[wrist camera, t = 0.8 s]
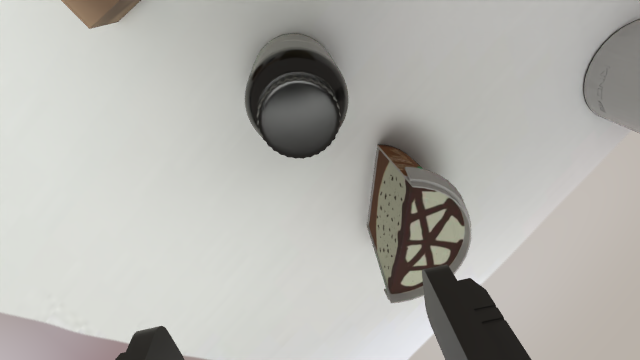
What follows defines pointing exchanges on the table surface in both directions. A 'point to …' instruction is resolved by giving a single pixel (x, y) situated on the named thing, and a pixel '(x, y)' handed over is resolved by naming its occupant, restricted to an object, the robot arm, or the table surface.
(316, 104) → the supplement bottle
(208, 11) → the table surface
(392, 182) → the food container
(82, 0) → the walnut block
